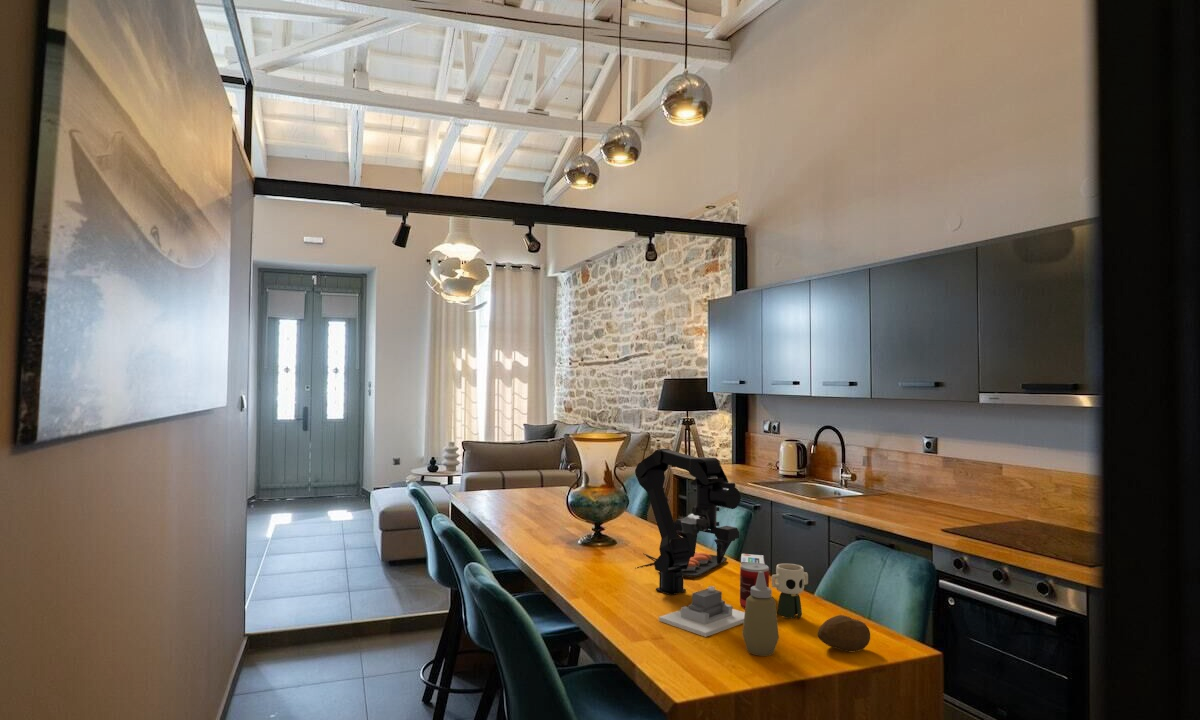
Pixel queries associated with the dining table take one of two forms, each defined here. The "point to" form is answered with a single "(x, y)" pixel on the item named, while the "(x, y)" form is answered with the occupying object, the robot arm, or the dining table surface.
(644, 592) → the dining table surface
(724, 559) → the sushi plate
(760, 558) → the light bulb box
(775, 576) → the character mug
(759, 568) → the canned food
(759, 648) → the squeeze bottle
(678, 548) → the robot arm
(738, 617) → the plate
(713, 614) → the block
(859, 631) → the potato
